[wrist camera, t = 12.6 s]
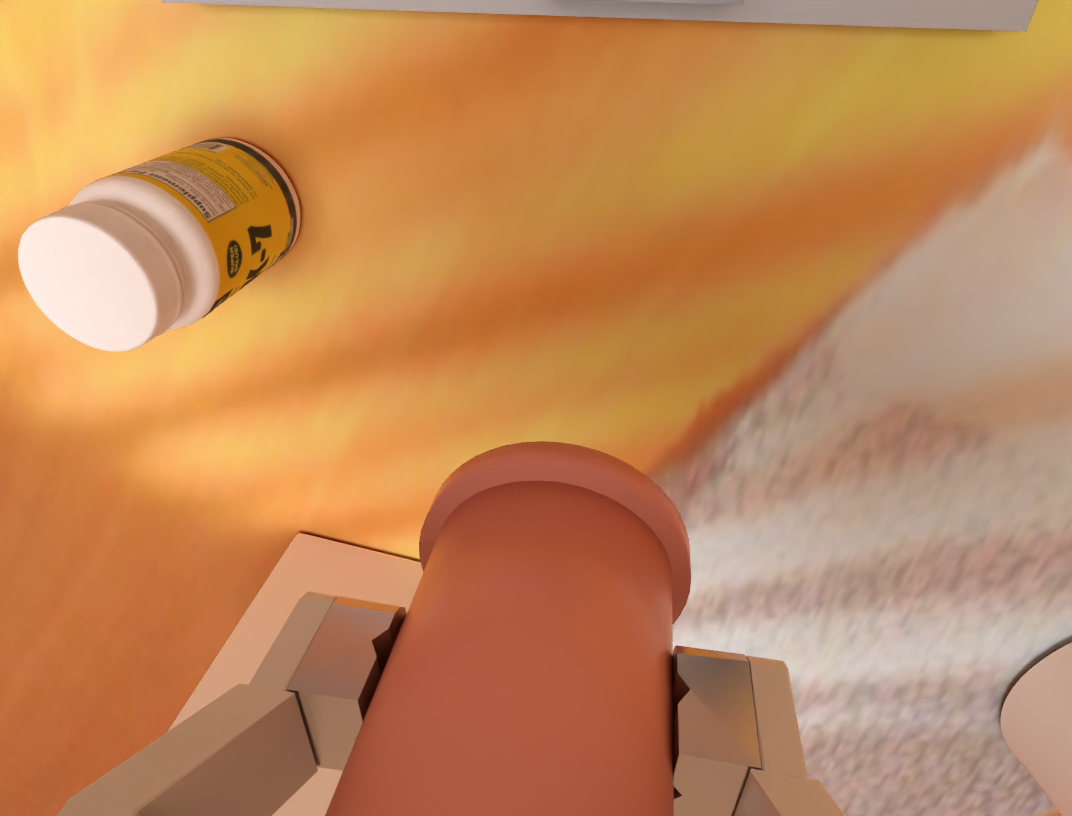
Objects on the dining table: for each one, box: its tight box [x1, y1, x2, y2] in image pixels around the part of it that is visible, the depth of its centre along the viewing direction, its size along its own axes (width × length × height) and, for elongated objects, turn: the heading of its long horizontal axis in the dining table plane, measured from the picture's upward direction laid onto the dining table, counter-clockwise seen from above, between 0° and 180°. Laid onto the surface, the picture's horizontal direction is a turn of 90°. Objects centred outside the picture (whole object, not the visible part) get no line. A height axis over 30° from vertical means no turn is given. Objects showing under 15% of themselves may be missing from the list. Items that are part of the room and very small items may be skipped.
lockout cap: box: [325, 442, 691, 816], centre depth 9 cm, size 5×5×6 cm
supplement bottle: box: [18, 138, 300, 351], centre depth 22 cm, size 5×5×8 cm
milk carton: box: [168, 533, 423, 816], centre depth 29 cm, size 7×7×19 cm
